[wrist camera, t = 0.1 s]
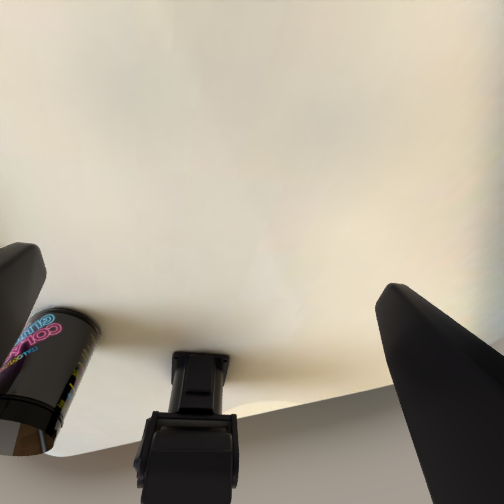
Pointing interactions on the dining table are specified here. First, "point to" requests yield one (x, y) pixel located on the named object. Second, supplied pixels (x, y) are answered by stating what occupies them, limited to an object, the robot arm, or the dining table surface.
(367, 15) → the dining table surface
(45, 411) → the supplement container
